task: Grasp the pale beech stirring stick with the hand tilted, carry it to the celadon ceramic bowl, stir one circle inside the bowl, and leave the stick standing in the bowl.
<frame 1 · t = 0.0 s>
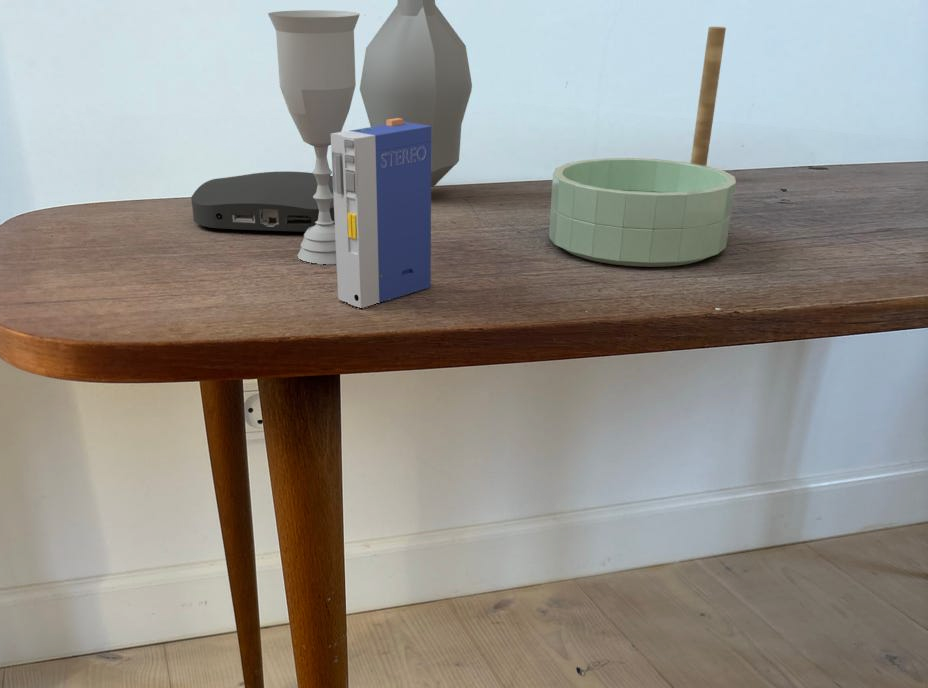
bowl: (635, 246, 95), on the table
grey faceted vase: (417, 197, 111), on the table
media streaming box: (279, 218, 102), on the table
chalice: (326, 258, 91), on the table
walkman: (385, 297, 82), on the table
stirring stick: (696, 179, 120), on the table
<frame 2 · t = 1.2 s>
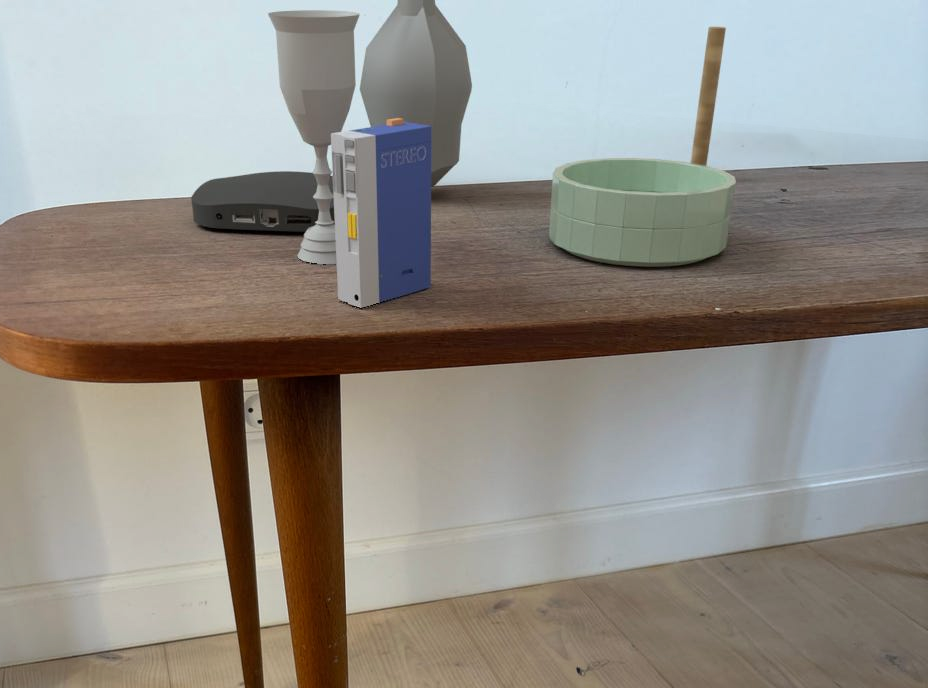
nothing on the table moved.
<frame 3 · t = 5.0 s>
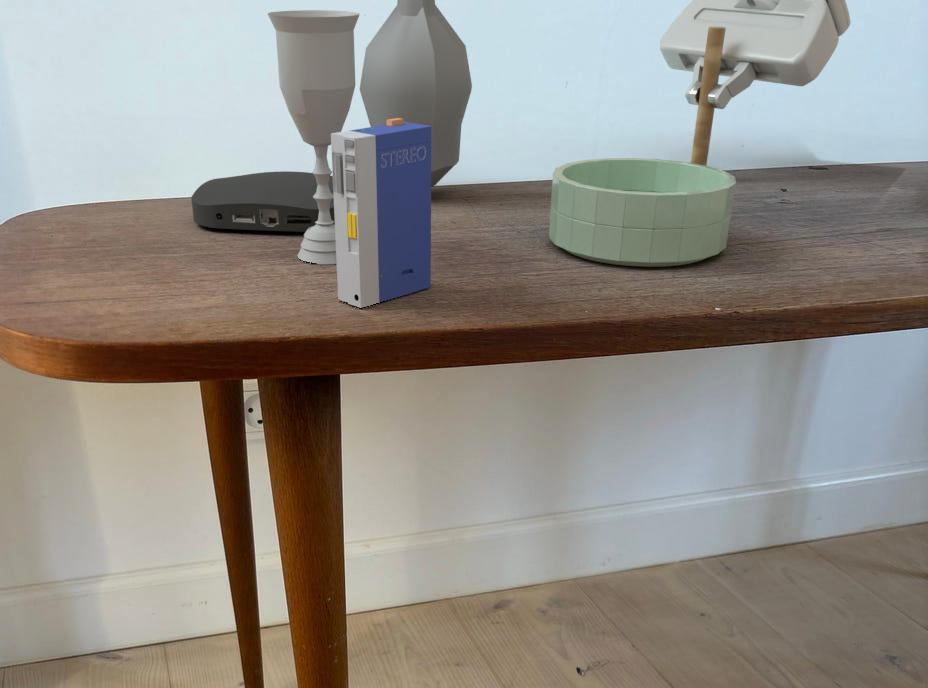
hand: (703, 102, 115), 8 cm above the table, tool tilted 45°, fingers closed on stirring stick, 2 cm apart
stirring stick: (696, 179, 120), on the table, touching gripper
everything else where it was.
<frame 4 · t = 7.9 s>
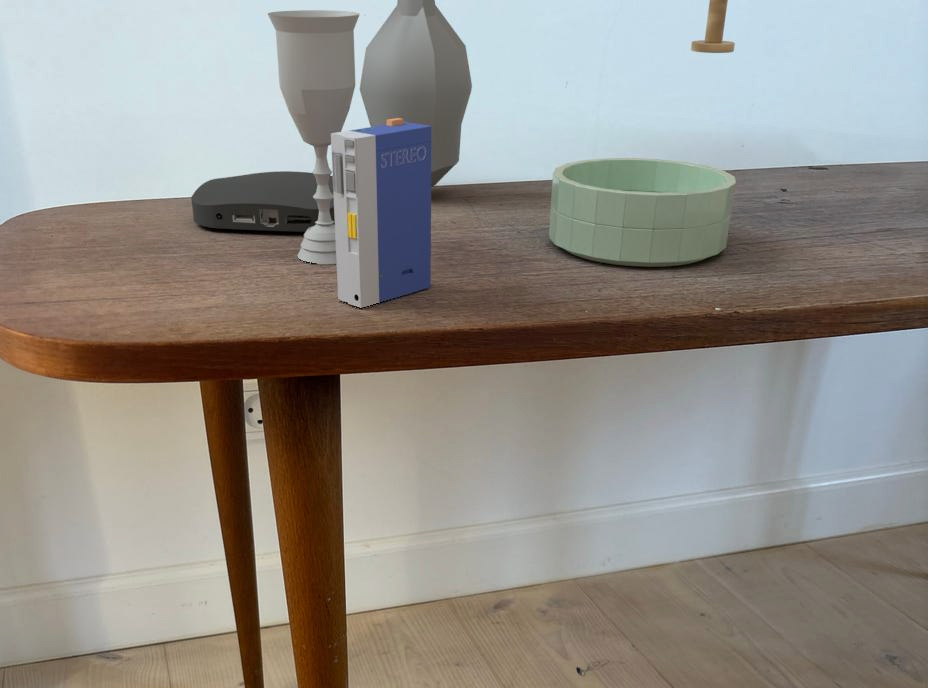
stirring stick: (712, 50, 110), point 13 cm above the table, touching gripper
everything else where it was.
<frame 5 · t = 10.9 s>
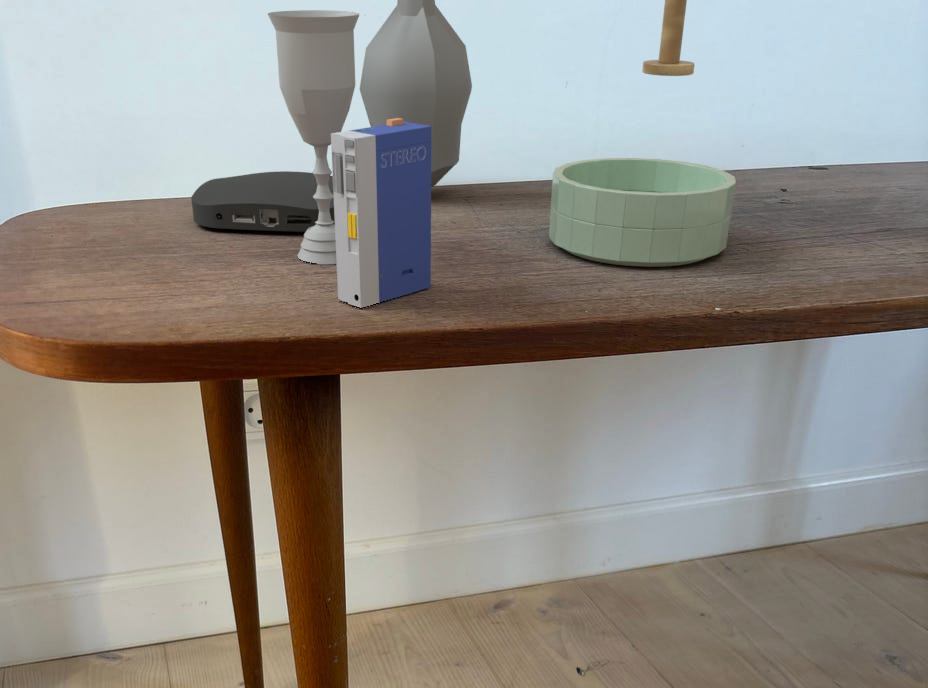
stirring stick: (667, 72, 91), point 13 cm above the table, touching gripper
everything else where it was.
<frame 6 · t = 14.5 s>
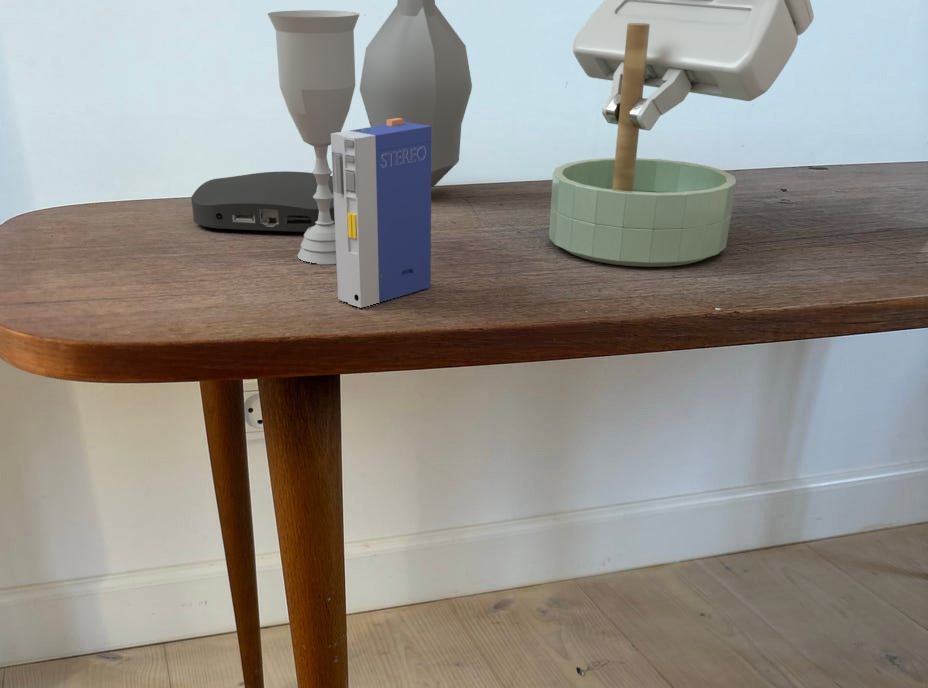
hand: (624, 122, 89), 10 cm above the table, tool tilted 45°, fingers closed on stirring stick, 2 cm apart
stirring stick: (619, 219, 93), point 2 cm above the table, touching gripper
everything else where it was.
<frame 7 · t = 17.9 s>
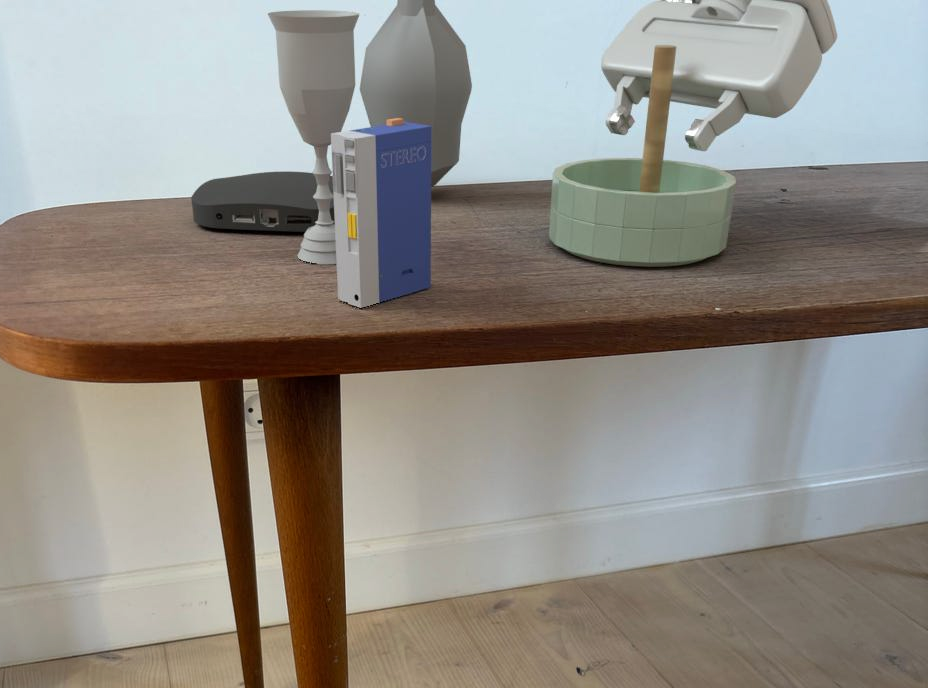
hand: (652, 137, 91), 9 cm above the table, tool tilted 45°, fingers open, 8 cm apart
stirring stick: (644, 233, 96), point 1 cm above the table, touching bowl
everything else where it was.
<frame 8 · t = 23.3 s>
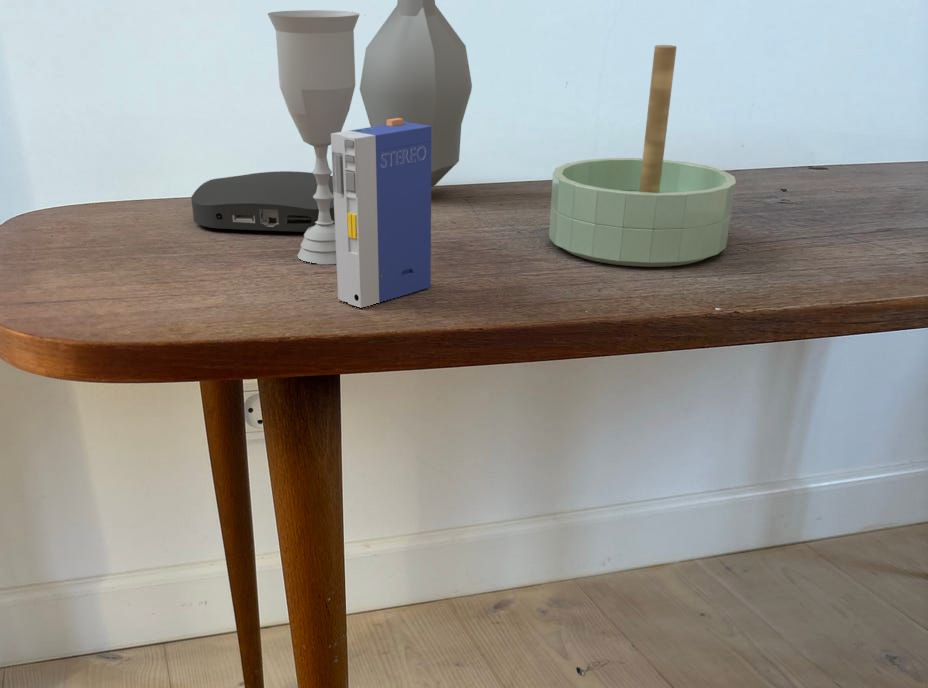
nothing on the table moved.
at the end: stirring stick inside the target area in the bowl (2.5 cm from its centre), point 0.6 cm above the bowl's base; the gripper is holding nothing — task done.
